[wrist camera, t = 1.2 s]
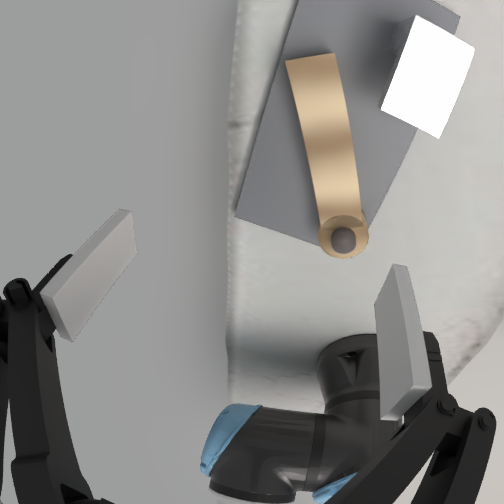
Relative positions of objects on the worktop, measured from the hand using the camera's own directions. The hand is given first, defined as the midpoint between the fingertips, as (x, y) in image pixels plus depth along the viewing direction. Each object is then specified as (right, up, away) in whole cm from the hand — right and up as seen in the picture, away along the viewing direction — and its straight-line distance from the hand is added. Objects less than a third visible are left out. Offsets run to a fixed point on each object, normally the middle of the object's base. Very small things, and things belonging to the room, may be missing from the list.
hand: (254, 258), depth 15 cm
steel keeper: (+14, +17, +8) cm, 23 cm away
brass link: (+7, +9, +13) cm, 18 cm away
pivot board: (+8, +13, +12) cm, 20 cm away
